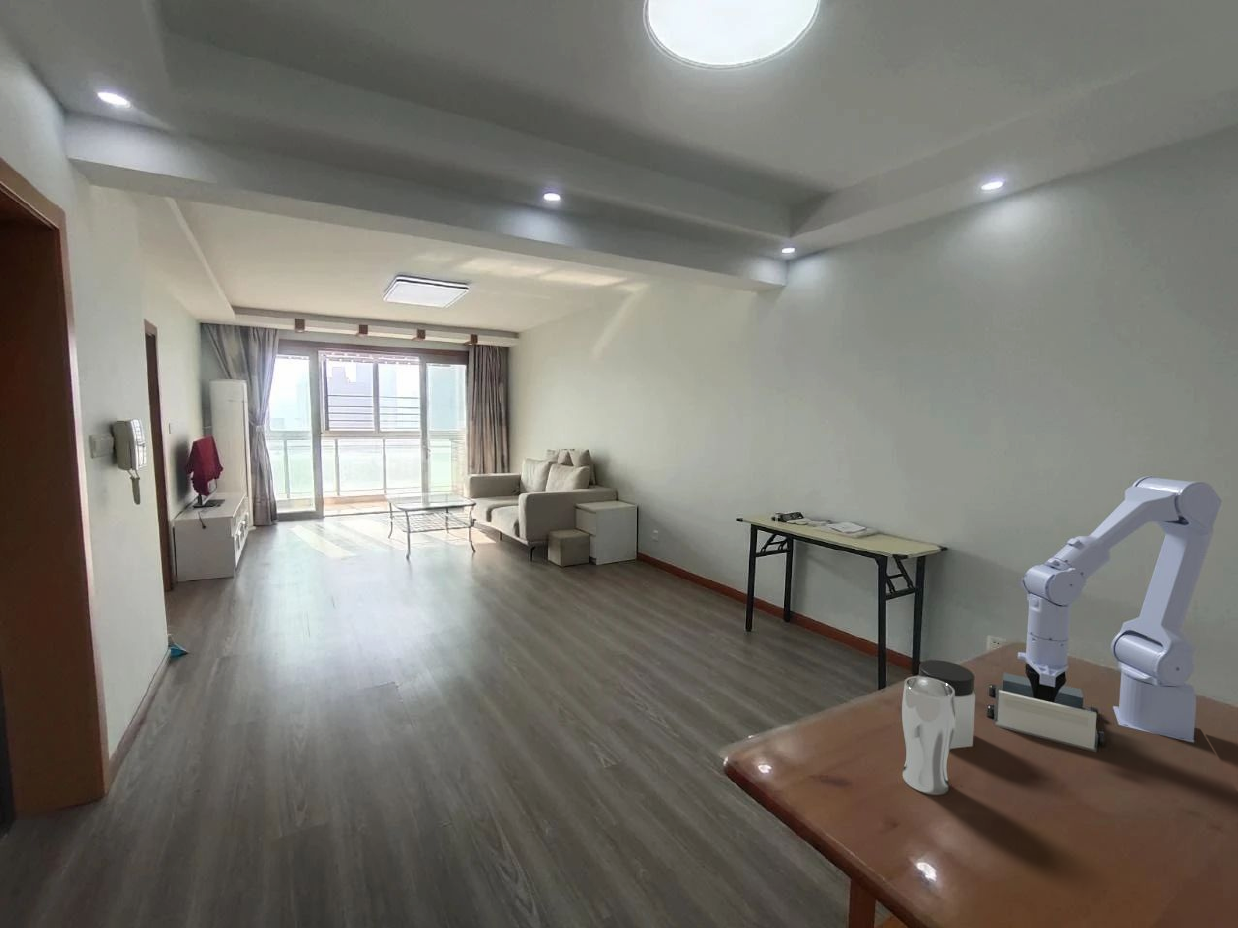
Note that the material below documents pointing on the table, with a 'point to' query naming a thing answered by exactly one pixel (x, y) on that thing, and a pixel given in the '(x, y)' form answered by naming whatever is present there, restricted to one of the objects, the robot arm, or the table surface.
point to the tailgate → (1047, 720)
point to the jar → (956, 696)
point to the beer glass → (927, 733)
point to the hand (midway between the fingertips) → (1042, 709)
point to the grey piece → (1024, 688)
